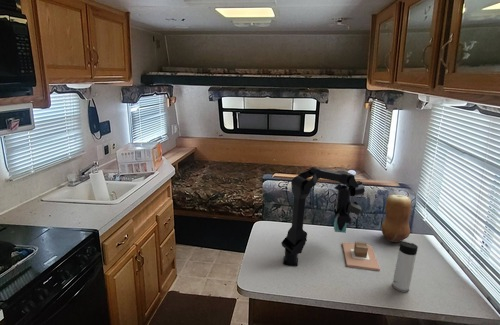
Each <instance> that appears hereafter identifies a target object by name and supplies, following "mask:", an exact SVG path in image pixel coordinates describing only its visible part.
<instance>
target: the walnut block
mask: <svg viewBox="0 0 500 325" xmlns="http://www.w3.org/2000/svg"><path fill="white" fill-rule="evenodd" d="M354 244H355V246H354V254H355V256H356V257H364V258H367V251H368V247H367V245H368V244H367V242H362V241H354Z"/></svg>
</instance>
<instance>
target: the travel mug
mask: <svg viewBox="0 0 500 325" xmlns="http://www.w3.org/2000/svg"><path fill="white" fill-rule="evenodd" d="M418 248H419V247H418V245H416V244H415V243H412V242H407V241H400V242H399V247H398V252H397V253H398V254H397V259H396V262H395V270H394V274H393V279H392V284H391V285H392V287H393V288H394V289H395V290H397V291H399V292H402V293H403V292H404V293H408V292H409V290H410V287H411V282H412V278H413V272H414V268H415V263H416V258H417V255H418V254H417V252H418Z"/></svg>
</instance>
